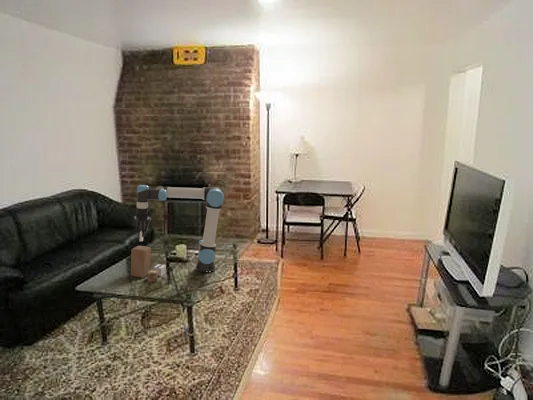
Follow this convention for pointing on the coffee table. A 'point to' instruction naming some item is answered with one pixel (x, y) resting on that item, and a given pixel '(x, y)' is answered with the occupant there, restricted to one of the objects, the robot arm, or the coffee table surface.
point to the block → (140, 261)
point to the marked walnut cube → (152, 275)
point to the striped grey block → (160, 269)
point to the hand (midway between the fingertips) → (141, 240)
